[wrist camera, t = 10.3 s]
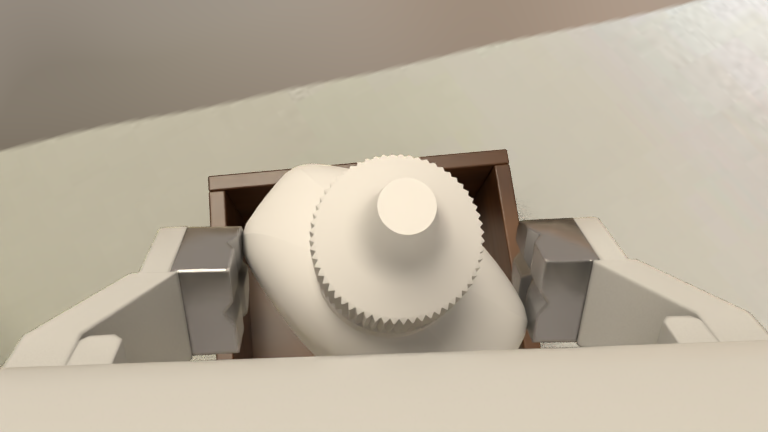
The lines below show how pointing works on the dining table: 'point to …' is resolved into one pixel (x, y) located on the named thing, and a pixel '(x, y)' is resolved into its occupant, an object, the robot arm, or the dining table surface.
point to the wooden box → (247, 190)
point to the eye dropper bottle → (381, 261)
